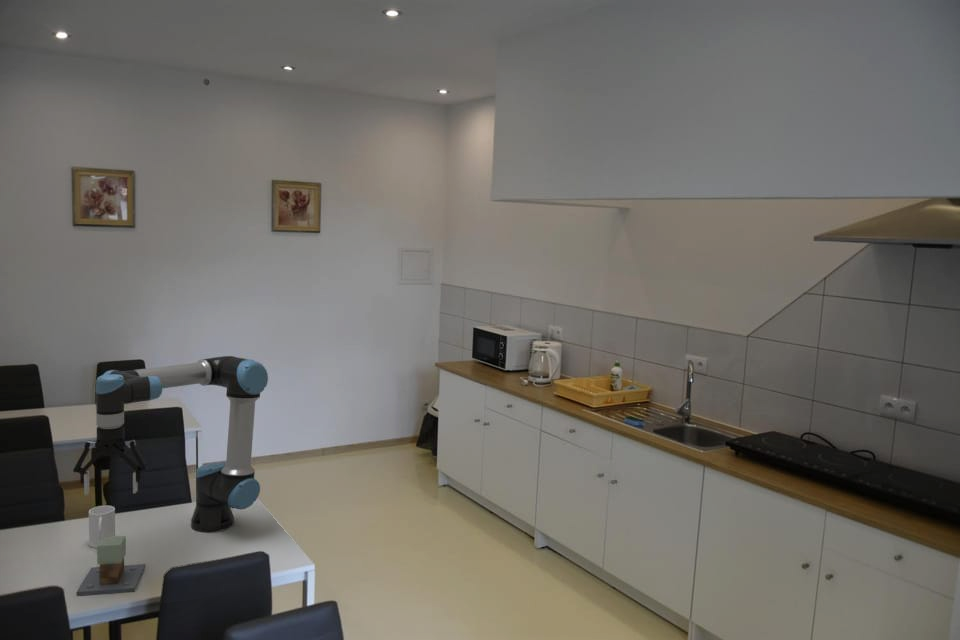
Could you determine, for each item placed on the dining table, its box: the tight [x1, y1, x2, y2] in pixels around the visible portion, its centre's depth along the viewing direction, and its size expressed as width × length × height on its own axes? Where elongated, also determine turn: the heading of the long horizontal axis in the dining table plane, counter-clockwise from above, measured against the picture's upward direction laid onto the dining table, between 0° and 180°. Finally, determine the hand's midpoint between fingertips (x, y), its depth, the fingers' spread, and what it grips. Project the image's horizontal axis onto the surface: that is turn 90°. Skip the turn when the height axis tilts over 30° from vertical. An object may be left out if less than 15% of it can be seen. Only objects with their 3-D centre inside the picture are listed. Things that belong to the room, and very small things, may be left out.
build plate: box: [75, 563, 146, 597], centre depth 223 cm, size 16×16×2 cm
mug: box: [87, 505, 116, 548], centre depth 246 cm, size 12×8×12 cm
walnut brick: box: [98, 557, 125, 585], centre depth 222 cm, size 5×9×6 cm, turn 14°
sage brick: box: [96, 535, 127, 566], centre depth 221 cm, size 6×6×6 cm
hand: (111, 492), depth 219 cm, fingers open, 13 cm apart
